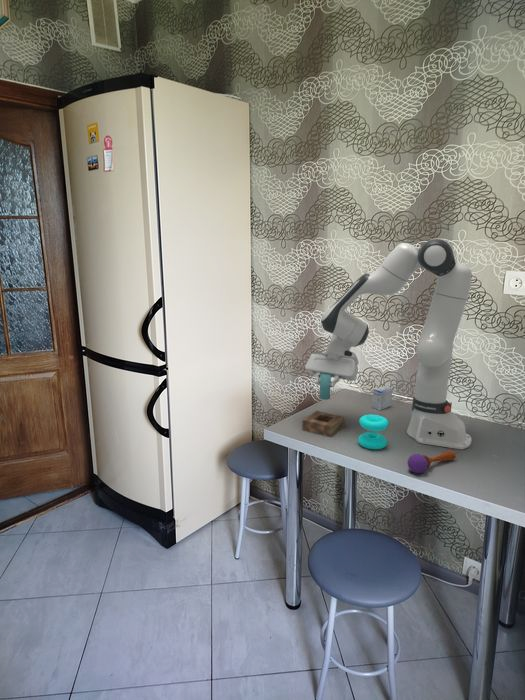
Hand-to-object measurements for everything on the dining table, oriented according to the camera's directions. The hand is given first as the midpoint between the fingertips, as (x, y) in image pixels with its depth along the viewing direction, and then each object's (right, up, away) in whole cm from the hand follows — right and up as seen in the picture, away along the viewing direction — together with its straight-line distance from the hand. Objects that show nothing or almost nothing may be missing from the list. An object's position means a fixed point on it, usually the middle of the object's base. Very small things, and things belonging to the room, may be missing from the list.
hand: (324, 385), depth 174 cm
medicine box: (+29, -12, +28) cm, 42 cm away
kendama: (+31, -25, -25) cm, 47 cm away
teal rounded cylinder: (0, -5, +2) cm, 5 cm away
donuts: (+16, -21, -10) cm, 28 cm away
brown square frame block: (0, -17, +4) cm, 17 cm away
